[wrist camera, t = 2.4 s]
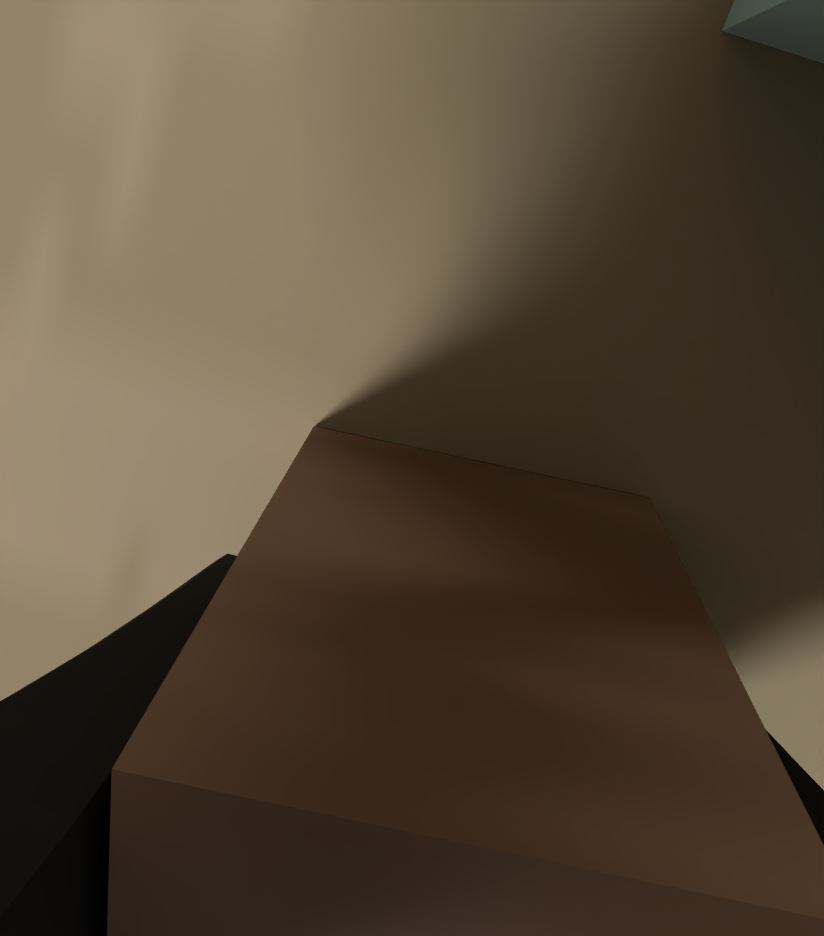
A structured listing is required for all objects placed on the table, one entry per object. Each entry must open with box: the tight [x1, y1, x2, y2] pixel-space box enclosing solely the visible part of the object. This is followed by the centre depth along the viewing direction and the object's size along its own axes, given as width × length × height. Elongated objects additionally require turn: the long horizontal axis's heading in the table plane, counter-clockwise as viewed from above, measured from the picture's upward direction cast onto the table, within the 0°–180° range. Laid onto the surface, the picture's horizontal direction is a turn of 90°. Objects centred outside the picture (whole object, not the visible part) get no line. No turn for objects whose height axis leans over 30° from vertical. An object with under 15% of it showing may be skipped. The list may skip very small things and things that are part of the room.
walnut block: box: [107, 426, 824, 936], centre depth 8 cm, size 4×4×6 cm
